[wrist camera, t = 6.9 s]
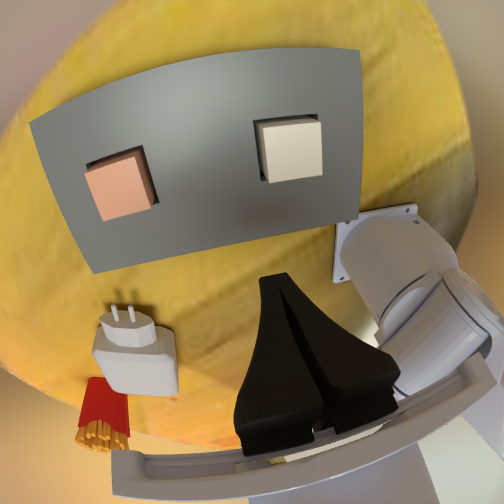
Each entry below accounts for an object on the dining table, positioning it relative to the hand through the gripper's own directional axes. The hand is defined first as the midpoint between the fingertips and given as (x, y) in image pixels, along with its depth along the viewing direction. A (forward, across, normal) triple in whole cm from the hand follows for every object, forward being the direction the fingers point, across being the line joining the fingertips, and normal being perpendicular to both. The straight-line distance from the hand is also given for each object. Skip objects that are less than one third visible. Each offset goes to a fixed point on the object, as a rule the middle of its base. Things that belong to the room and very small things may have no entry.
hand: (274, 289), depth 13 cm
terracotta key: (+8, +7, -5) cm, 12 cm away
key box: (+10, +2, -5) cm, 11 cm away
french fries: (+10, +26, +26) cm, 38 cm away
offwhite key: (+8, -3, -5) cm, 10 cm away
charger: (+10, +14, +14) cm, 23 cm away
